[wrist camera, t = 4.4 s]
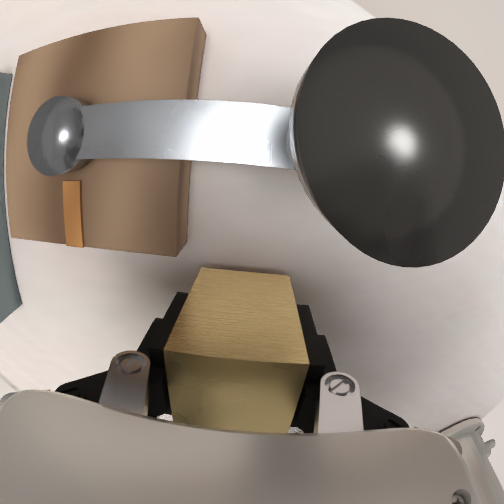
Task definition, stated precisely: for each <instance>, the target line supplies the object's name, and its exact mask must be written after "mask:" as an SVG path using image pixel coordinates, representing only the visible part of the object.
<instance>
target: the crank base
mask: <svg viewBox="0 0 504 504" xmlns="http://www.w3.org/2000/svg"><path fill="white" fill-rule="evenodd" d="M205 39H206V33H205V31H204V29H203V26H202V24H201V22H200V20H199V18H178V19H166V20H156V21H147V22H140V23H133V24H127V25H121V26H116V27H111V28H106V29H101V30H97V31H93V32H89V33H85V34H81V35H77V36H74V37H70V38H67V39H64V40H61V41H57V42H54V43H51V44H48V45H46V46H43V47H40V48H37V49H35V50H32V51H30V52H27V53H25V54H22V55H20V56H19V59H18V63H17V68H16V73H15V78H14V83H13V89H12V95H11V102H10V110H9V120H8V131H7V150H6V184H7V203H8V215H9V225H10V233H11V238H19V239H27V240H35V241H43V242H51V243H59V244H66V246H73V247H81V248H83V247H93V248H101V249H110V250H119V251H127V252H136V253H145V254H155V255H164V256H173V257H176V256H177V255H178V253H179V252H180V250H181V249H182V248H183V246H184V245H185V243H186V242H187V218H188V198H189V181H190V167H191V160H180V159H148V158H107V159H90V160H89V161H88V162H87V163H86V164H85V165H84V166H83V167H82V168H80V169H79V170H77V171H74V172H70V173H65V174H60V175H56V176H46V175H43V174H41V173H40V172H38V171H37V170H36V169H35V168H34V166H33V165H32V163H31V161H30V158H29V155H28V151H27V134H28V129H29V126H30V123H31V120H32V118H33V116H34V114H35V113H36V111H37V110H38V108H39V107H40V106H41V105H42V104H43V103H44V102H46V101H47V100H48V99H50V98H52V97H55V96H68V97H73V98H78V99H82V100H85V101H87V102H88V103H90V104H91V105H96V104H105V103H115V102H128V101H144V100H197V95H198V87H199V80H200V72H201V65H202V58H203V52H204V45H205Z"/></svg>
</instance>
